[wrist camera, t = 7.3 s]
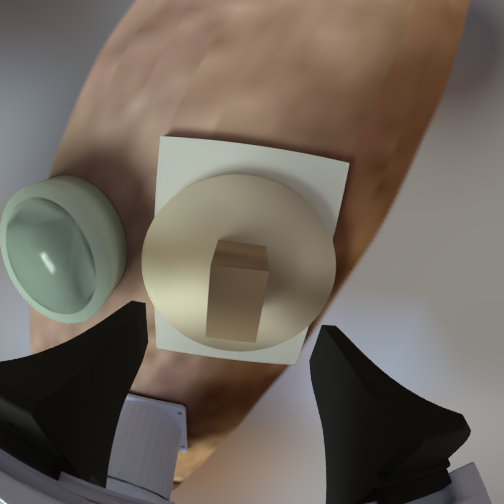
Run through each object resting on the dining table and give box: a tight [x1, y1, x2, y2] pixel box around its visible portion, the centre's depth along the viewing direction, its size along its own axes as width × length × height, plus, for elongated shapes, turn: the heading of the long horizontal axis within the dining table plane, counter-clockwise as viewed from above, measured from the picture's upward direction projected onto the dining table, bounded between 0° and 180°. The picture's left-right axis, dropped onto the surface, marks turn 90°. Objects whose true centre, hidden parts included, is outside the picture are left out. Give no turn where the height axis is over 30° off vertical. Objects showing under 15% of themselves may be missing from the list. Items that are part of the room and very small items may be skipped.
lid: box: [141, 173, 336, 352], centre depth 15 cm, size 11×11×4 cm
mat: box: [155, 136, 349, 365], centre depth 17 cm, size 14×10×1 cm
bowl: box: [0, 175, 127, 324], centre depth 15 cm, size 9×9×3 cm
